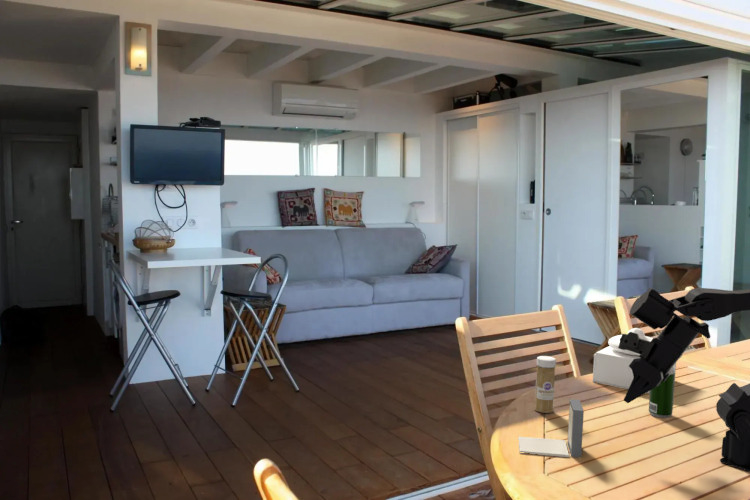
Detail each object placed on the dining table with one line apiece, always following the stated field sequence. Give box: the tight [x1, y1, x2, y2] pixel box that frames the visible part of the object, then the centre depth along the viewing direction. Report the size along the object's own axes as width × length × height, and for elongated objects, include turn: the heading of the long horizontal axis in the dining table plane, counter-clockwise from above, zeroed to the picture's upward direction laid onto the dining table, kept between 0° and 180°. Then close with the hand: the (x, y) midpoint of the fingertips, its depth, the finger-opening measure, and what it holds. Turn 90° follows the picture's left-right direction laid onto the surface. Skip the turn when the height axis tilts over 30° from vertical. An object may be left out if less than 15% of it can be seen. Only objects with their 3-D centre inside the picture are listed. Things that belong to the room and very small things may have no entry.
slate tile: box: [567, 398, 585, 458], centre depth 143 cm, size 2×7×10 cm, turn 170°
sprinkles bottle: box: [534, 355, 557, 414], centre depth 167 cm, size 5×5×13 cm
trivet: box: [517, 436, 570, 458], centre depth 145 cm, size 10×8×1 cm
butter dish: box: [592, 327, 677, 395], centre depth 193 cm, size 18×18×16 cm
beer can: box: [648, 367, 676, 419], centre depth 166 cm, size 5×5×12 cm
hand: (625, 401), depth 141 cm, fingers closed
